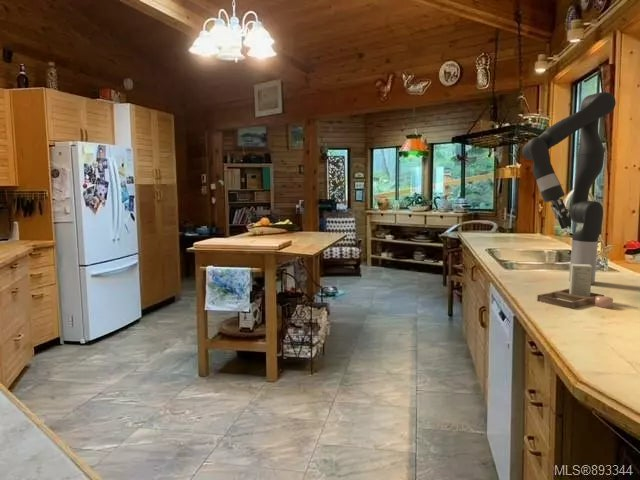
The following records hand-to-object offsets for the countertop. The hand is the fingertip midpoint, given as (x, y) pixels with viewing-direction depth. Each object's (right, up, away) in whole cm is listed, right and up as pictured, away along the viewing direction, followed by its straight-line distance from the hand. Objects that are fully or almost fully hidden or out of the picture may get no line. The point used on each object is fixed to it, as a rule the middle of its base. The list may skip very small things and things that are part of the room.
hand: (566, 227), depth 187 cm
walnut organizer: (-7, -26, -16) cm, 31 cm away
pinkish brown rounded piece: (+1, -27, -23) cm, 35 cm away
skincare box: (-2, -26, -13) cm, 29 cm away
